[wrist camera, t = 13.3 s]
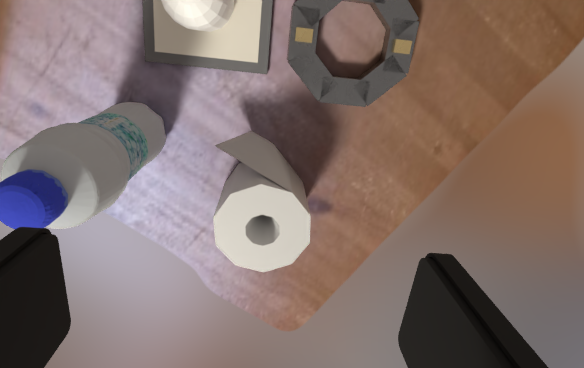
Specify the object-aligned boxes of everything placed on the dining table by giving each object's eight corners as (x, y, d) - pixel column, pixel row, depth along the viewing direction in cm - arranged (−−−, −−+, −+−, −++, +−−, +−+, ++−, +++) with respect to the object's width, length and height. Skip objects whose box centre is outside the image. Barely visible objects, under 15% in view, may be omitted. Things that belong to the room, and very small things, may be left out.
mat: (147, 60, 35) (144, 61, 34) (140, -84, 31) (138, -87, 30) (267, 73, 36) (267, 74, 36) (277, -65, 32) (277, -67, 31)
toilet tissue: (249, 112, 38) (243, 131, 30) (318, 202, 42) (329, 239, 34) (185, 160, 39) (163, 191, 31) (258, 242, 44) (255, 286, 36)
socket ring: (283, 96, 37) (284, 99, 35) (296, -37, 33) (297, -43, 31) (394, 107, 38) (401, 111, 36) (422, -20, 34) (431, -24, 32)
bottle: (114, 86, 36) (-53, 135, 17) (179, 110, 37) (87, 178, 19) (102, 146, 38) (-57, 245, 20) (164, 166, 39) (69, 277, 21)
